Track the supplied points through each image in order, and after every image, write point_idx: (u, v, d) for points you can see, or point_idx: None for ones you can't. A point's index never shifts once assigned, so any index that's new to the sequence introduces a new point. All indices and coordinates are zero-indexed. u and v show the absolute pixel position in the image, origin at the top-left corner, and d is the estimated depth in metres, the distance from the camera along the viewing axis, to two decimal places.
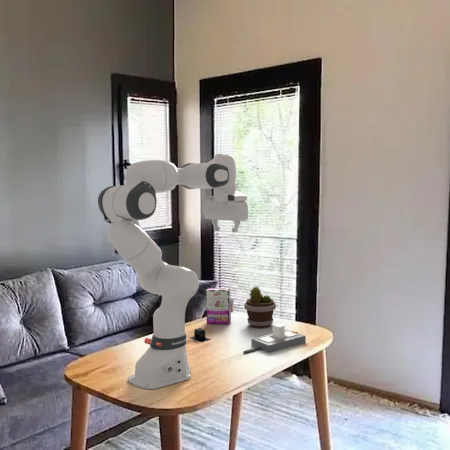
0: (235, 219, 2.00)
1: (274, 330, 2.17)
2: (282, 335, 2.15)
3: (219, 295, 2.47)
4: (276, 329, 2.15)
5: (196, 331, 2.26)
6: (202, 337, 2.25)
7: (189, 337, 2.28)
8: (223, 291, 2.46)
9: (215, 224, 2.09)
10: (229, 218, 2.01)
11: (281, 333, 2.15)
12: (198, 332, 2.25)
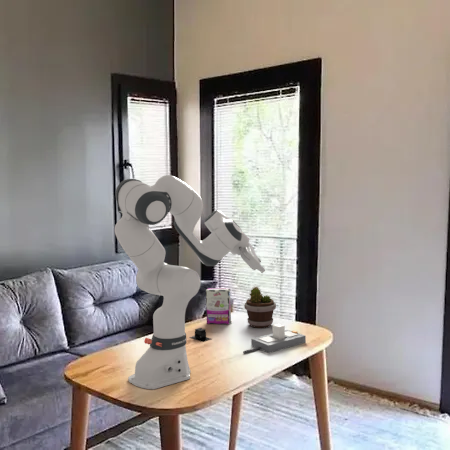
0: (253, 249, 2.12)
1: (274, 330, 2.17)
2: (282, 335, 2.15)
3: (219, 295, 2.47)
4: (276, 329, 2.15)
5: (197, 331, 2.26)
6: (203, 337, 2.25)
7: (189, 337, 2.28)
8: (223, 291, 2.46)
9: None
10: (254, 251, 2.09)
11: (281, 333, 2.15)
12: (199, 332, 2.25)
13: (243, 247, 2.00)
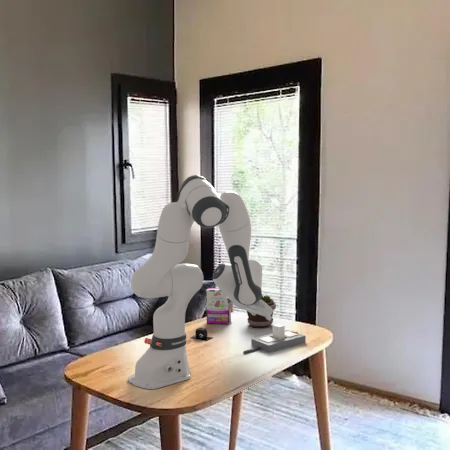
0: None
1: (274, 330, 2.17)
2: (282, 335, 2.15)
3: (219, 295, 2.47)
4: (276, 329, 2.15)
5: (198, 331, 2.26)
6: (205, 336, 2.26)
7: (190, 337, 2.28)
8: None
9: None
10: None
11: (281, 333, 2.15)
12: (201, 331, 2.26)
13: None
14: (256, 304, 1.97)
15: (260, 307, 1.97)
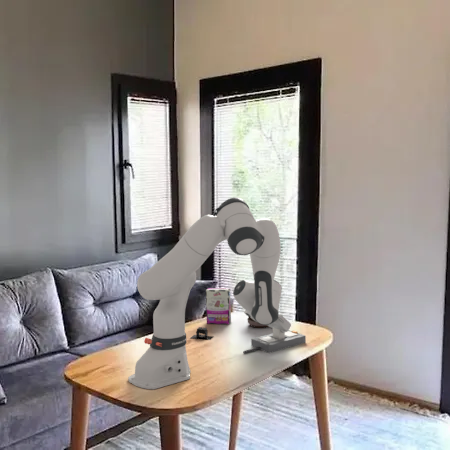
0: None
1: (274, 330, 2.17)
2: (282, 335, 2.15)
3: (219, 295, 2.47)
4: (276, 329, 2.15)
5: (199, 330, 2.27)
6: (206, 335, 2.27)
7: (190, 338, 2.27)
8: (223, 291, 2.46)
9: None
10: None
11: (281, 333, 2.15)
12: (202, 331, 2.26)
13: None
14: None
15: (279, 322, 2.04)
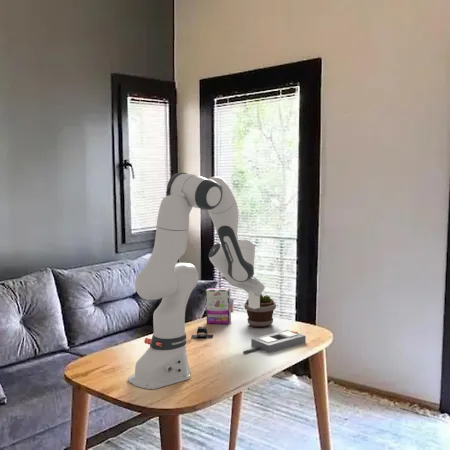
0: None
1: (249, 294, 2.24)
2: (257, 298, 2.23)
3: (219, 295, 2.47)
4: (251, 292, 2.23)
5: (200, 330, 2.27)
6: (206, 334, 2.29)
7: (192, 338, 2.27)
8: (223, 291, 2.46)
9: None
10: None
11: (257, 296, 2.22)
12: (204, 330, 2.27)
13: None
14: (249, 281, 2.12)
15: (253, 284, 2.11)
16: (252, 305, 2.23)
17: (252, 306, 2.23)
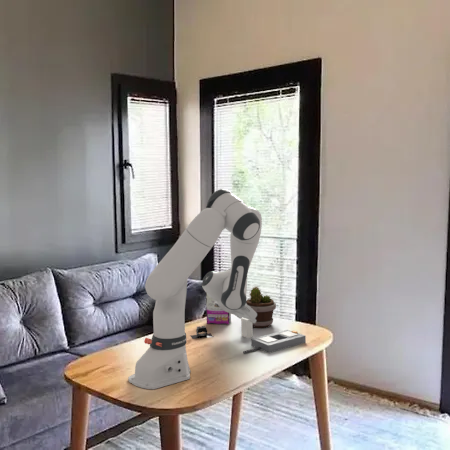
0: None
1: (242, 323, 2.28)
2: (250, 327, 2.27)
3: None
4: (244, 322, 2.27)
5: (201, 329, 2.28)
6: None
7: (193, 338, 2.27)
8: None
9: None
10: None
11: (249, 326, 2.26)
12: (204, 329, 2.29)
13: None
14: (242, 308, 2.16)
15: (245, 311, 2.15)
16: (245, 334, 2.27)
17: (245, 335, 2.27)
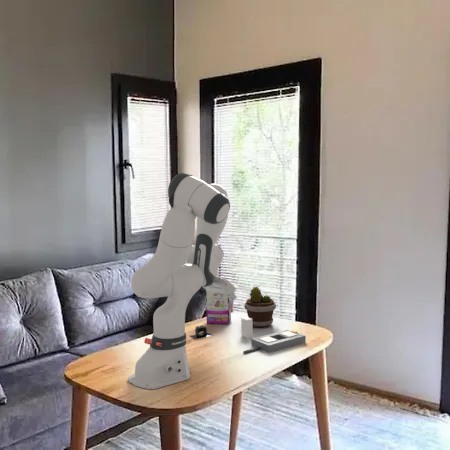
0: None
1: (242, 323, 2.28)
2: (250, 328, 2.27)
3: None
4: (244, 322, 2.27)
5: (201, 329, 2.29)
6: None
7: (195, 338, 2.27)
8: None
9: None
10: None
11: (249, 326, 2.26)
12: (204, 329, 2.30)
13: (216, 276, 2.11)
14: (219, 282, 2.08)
15: (222, 284, 2.07)
16: (245, 334, 2.27)
17: (245, 335, 2.27)
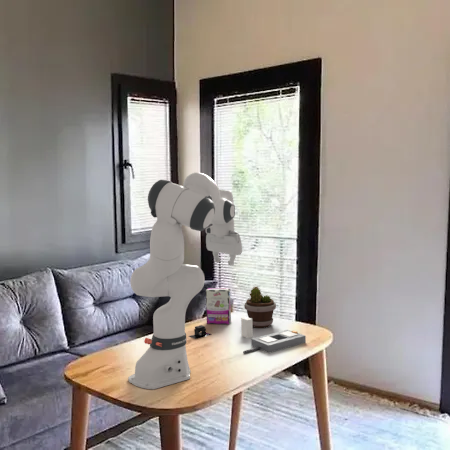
0: None
1: (242, 323, 2.28)
2: (250, 328, 2.27)
3: (219, 295, 2.47)
4: (244, 322, 2.27)
5: (201, 328, 2.30)
6: None
7: (196, 338, 2.27)
8: (223, 291, 2.46)
9: None
10: None
11: (249, 326, 2.26)
12: (203, 328, 2.30)
13: None
14: (233, 236, 2.06)
15: (235, 239, 2.04)
16: (245, 334, 2.27)
17: (245, 335, 2.27)
